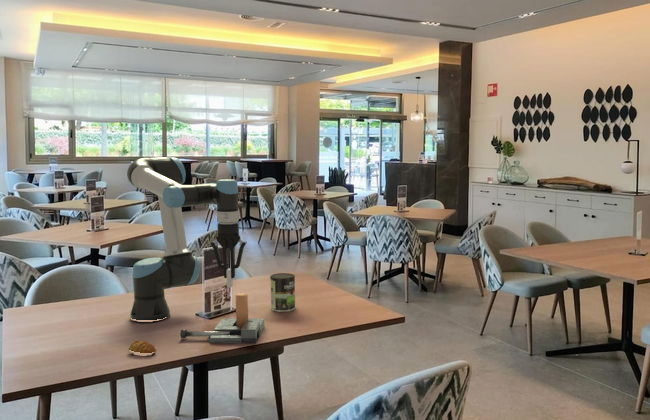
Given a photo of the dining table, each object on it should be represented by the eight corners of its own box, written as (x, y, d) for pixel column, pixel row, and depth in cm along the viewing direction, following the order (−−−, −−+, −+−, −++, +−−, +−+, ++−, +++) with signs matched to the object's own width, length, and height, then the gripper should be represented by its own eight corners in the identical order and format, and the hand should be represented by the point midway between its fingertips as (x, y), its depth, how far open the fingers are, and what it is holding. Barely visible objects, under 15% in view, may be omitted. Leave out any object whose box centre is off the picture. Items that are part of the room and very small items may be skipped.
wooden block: (238, 330, 211) (236, 293, 209) (249, 330, 210) (248, 293, 209) (235, 333, 206) (234, 296, 205) (247, 334, 206) (246, 296, 204)
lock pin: (180, 339, 200) (180, 331, 200) (183, 336, 203) (182, 328, 203) (228, 339, 199) (228, 331, 199) (230, 336, 202) (230, 328, 202)
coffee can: (300, 307, 238) (299, 274, 237) (284, 313, 230) (283, 279, 229) (282, 303, 245) (281, 271, 243) (265, 309, 236) (264, 276, 235)
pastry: (161, 352, 189) (161, 341, 189) (146, 359, 183) (145, 348, 183) (142, 348, 194) (141, 337, 193) (126, 354, 188) (125, 343, 187)
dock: (206, 343, 197) (205, 329, 196) (218, 326, 215) (218, 313, 214) (255, 343, 196) (255, 329, 195) (264, 326, 214) (264, 313, 213)
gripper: (207, 224, 199) (209, 289, 202) (244, 224, 199) (245, 289, 202) (212, 221, 207) (214, 284, 210) (247, 221, 206) (249, 284, 209)
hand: (229, 286), depth 206 cm, fingers closed
